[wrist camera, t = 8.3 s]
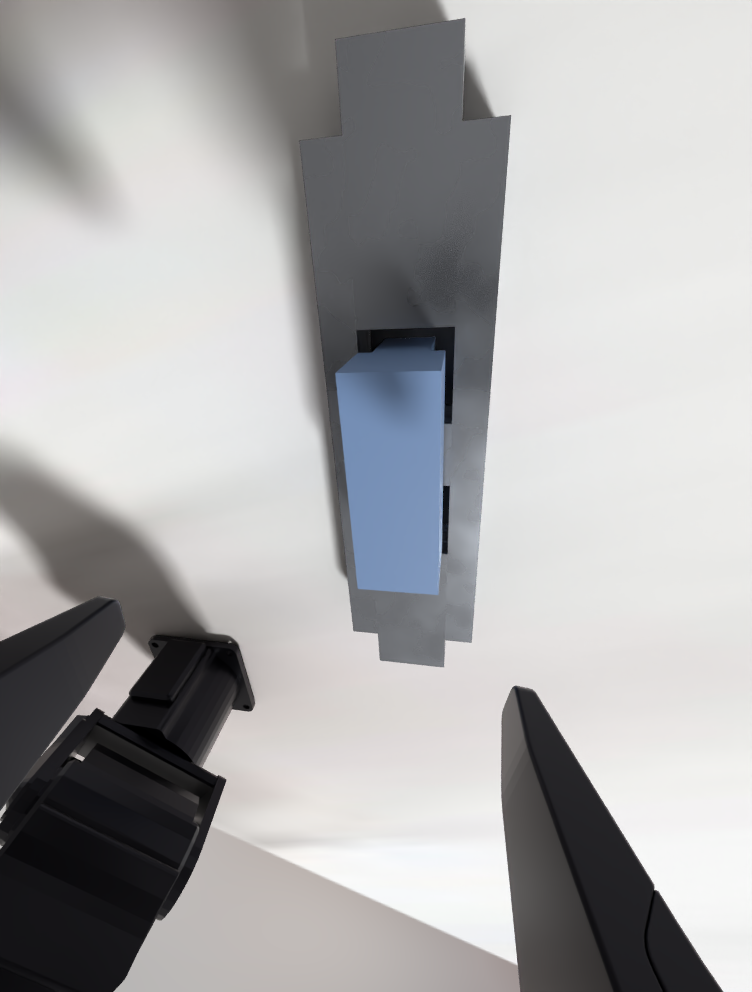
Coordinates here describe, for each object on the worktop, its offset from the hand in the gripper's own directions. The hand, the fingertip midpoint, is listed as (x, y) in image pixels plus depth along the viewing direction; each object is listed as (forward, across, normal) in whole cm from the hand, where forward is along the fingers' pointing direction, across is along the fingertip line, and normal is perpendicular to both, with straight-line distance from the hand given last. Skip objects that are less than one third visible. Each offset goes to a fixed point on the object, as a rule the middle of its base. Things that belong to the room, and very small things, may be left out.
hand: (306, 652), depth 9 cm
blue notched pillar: (+12, -1, -1) cm, 12 cm away
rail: (+12, -1, -1) cm, 12 cm away
